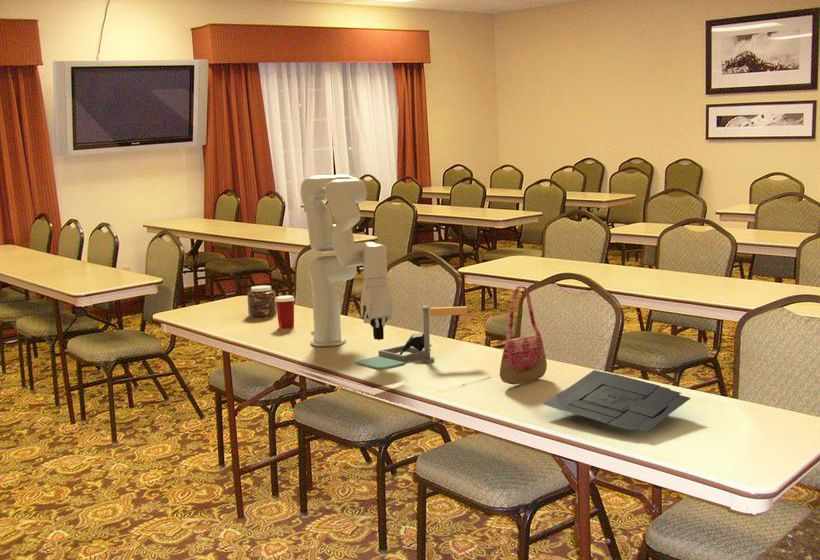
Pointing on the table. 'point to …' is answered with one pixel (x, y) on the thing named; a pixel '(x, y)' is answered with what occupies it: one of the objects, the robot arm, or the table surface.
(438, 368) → the table surface
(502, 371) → the shoulder bag
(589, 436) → the table surface
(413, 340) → the power plug
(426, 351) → the plug dock
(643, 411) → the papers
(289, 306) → the paper cup
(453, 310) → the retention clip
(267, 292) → the jar
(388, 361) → the mat
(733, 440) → the table surface
